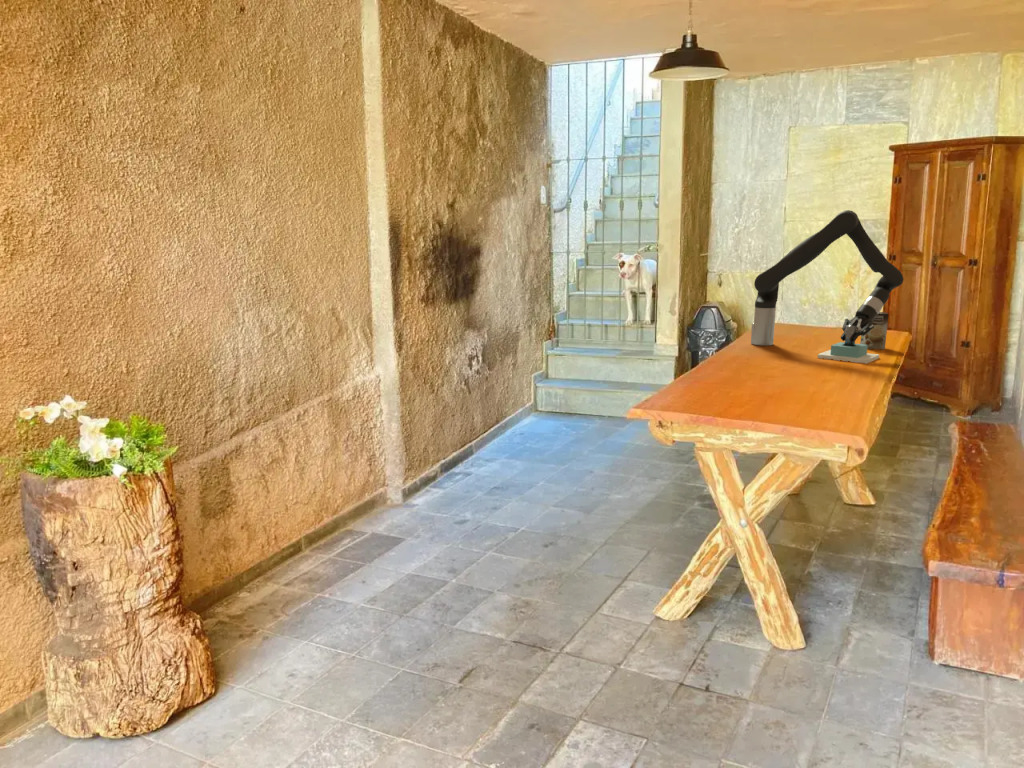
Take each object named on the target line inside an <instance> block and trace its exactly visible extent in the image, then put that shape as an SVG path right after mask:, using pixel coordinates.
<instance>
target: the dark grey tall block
mask: <svg viewBox="0 0 1024 768" xmlns="http://www.w3.org/2000/svg"><path fill="white" fill-rule="evenodd" d="M855 331H856V326H855V325H846V332H845V341H844V342H845V344H844V346H853V347H854V346H855V344H856V340H855V341H854V342H851V341H850V340H849V339H850V338H851V336H852V335H853V334H854V333H855Z"/></svg>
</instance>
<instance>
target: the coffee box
mask: <svg viewBox="0 0 1024 768" xmlns="http://www.w3.org/2000/svg"><path fill="white" fill-rule="evenodd" d="M872 324H873V325H874V328H872V329H871V330H870V331H869V332H868V333H866V334H865V335H864V336H862V335H860V341H859V342H860V343H859V344H865V345H868V346H867V350H885V349H886V341H887V332H888V324H889V313H888V312H884V311H880V312H879V313H878V315H877V316H876V317H875V319H874V320H873V321H872ZM865 331H866V330H864V331H863V332H865Z"/></svg>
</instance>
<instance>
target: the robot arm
mask: <svg viewBox="0 0 1024 768" xmlns="http://www.w3.org/2000/svg"><path fill="white" fill-rule="evenodd" d="M845 235H847V237H849V238H850V240H851V241H852V242H853V243H854V245H855V247H856V248H857V249H858V251H859V253H860V255H861V257H862V259H863V260H864V262H865V263H866V264H867V266H868V267H869V268H870V269H871V271H873V272H874V273H880V274H881V277H880V278H879V279H878V281H877V283H876V285H875V287H874V289H873V290H872V291H871V292H870V293H869V295H868V297H866V299H865V300H864V301H863V302H862V304H861V305H860V307H859V308H858V309H857V310H856V312H855V315H854V317H852V318H851V319H848V318H845V319H844V322H843V325H842V328H841V329H842V331H843V332H842V334H841V336H840V339H841V342H845V332H846V325H855V326H856V331H855V333H854V334H853V335H852V336H851V338H850V339H849V340H850V341H851V342H854V341H855V342H856V340H857V339H858V338H859V337H861V335H862V336H864V335H865V334H866V333H868V332H869V331H870V330H871V329H872V328H874V325H873V324H872V321H873V320H874V319H875V317H876V316H877V315H878V313H879V312H882V308H883V307H884V306H885V304H886V303H887V302H888V300H889V298H890V293H891V292H892V291H893V290H894V289H897V288H898V287H901V285H902V284H903V283H904V275H903V273H902V272H901V271H900V269H898V268H897V267H896V266H895V265H893V264H892V262H889V260H887V258H886V257H885V256H884V254H883V253H882V252H881V250H880V248H878V246H877V245H876V243H874V241H873V240H872V239H871V238H870V236H869V234H868V233H867V231H866V230H865V229H864V227H863V225H862V222H861V221H860V219H859V217H858V214H857V213H856V212H855V211H853V210H843V211H840V212H839V213H838V214H837V215H836V216H834V218H833V219H832V220H831V221H830V222H829V223H828V224H826V225H825V226H824V227H823V228H822V229H820V230H819V231H817V232H816V233H813V234H812V235H811V236H809V237H808V238H806V239H805V240H803V241H801V242H800V243H799V244H797V246H795V247H794V248H793V249H792V250H790V251H789V252H788V253H787V254H786V255H785V256H783V257H782V258H781V259H780V260H779V261H777V263H775V264H774V265H773V266H771V267H770V268H768V269H766V270H764V271H763V272H761V273H760V274H758V275H757V276H756V278H755V280H754V288H755V290H756V291H757V296H756V299H755V303H754V314H753V316H754V317H753V322H752V324H751V335H750V344H751V345H755V346H772V345H774V340H775V323H776V308H777V302H778V296H779V287H780V283H781V282H782V281H783V280H784V279H786V277H788V276H790V275H792V274H794V273H795V272H797V271H799V270H801V269H802V268H804V267H806V266H807V265H808V264H810V263H811V262H812V261H814V260H815V259H817V258H818V257H819V256H820V255H821V254H823V252H825V250H826V249H827V248H828V247H829V246H831V244H832V243H834V242H836V241H838V240H839V239H840V238H841V237H843V236H845ZM864 330H866V331H865V332H863V331H864Z"/></svg>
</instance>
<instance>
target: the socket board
mask: <svg viewBox="0 0 1024 768" xmlns="http://www.w3.org/2000/svg"><path fill="white" fill-rule="evenodd" d="M844 344H845V341H839V342H837V343H834V344H831V345H830V349H828V350H826V351H823V352H820V353H818V354H817V359H823V358H824V360H831V359H833V360H832V361H840V360H842V361H841V362H848V361H850V363H858V364H865V365H866V364H867V365H868V364H869V363H873V361H876V360H878V359H880V354H877V353H868V349H867V346H868V345H865V344H860V343H855V346H854V347H853V346H844Z"/></svg>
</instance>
